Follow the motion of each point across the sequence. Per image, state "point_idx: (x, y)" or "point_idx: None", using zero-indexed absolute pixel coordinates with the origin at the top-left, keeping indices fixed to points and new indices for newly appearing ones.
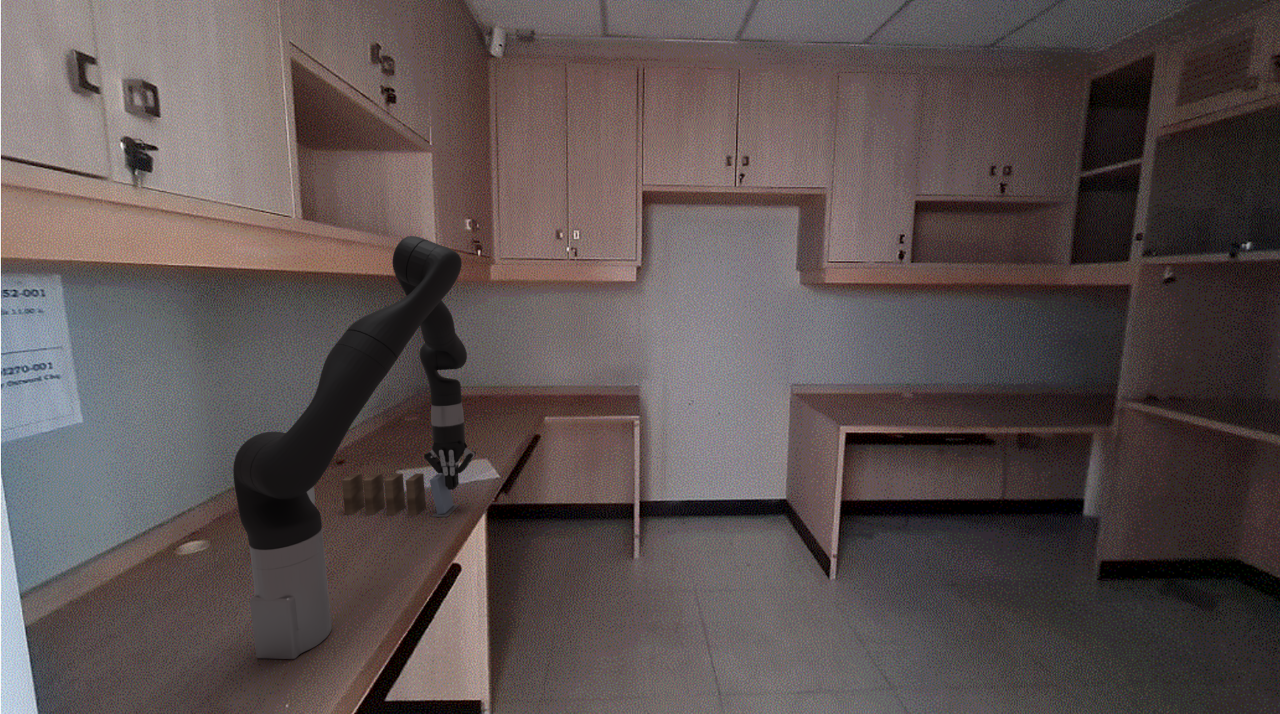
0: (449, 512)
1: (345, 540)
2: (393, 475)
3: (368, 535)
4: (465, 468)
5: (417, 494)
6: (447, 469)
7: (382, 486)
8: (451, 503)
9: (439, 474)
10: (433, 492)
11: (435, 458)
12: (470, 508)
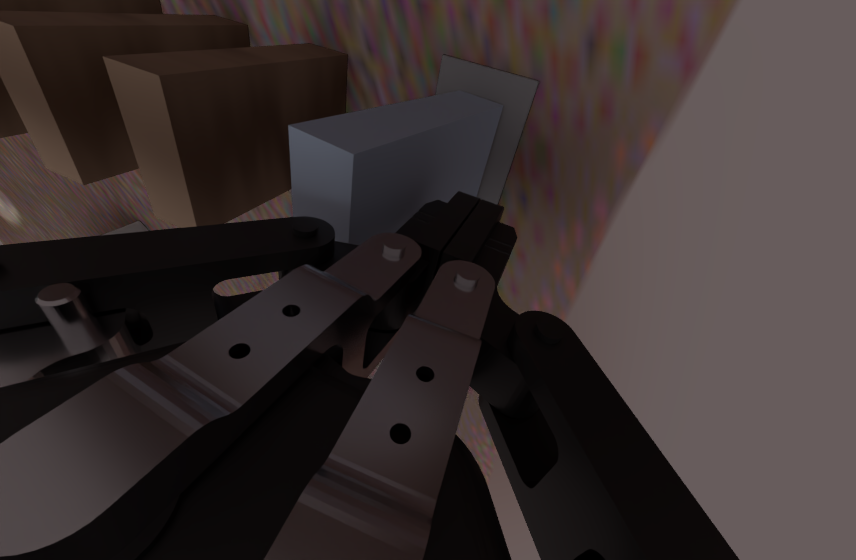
0: (491, 192)
1: (237, 284)
2: (4, 71)
3: (273, 278)
4: (578, 348)
5: (279, 162)
6: (380, 359)
7: (29, 4)
8: (488, 132)
9: (315, 192)
10: None
11: (142, 310)
12: (613, 154)
